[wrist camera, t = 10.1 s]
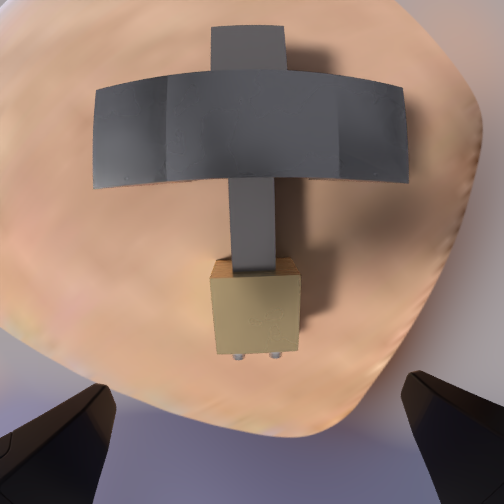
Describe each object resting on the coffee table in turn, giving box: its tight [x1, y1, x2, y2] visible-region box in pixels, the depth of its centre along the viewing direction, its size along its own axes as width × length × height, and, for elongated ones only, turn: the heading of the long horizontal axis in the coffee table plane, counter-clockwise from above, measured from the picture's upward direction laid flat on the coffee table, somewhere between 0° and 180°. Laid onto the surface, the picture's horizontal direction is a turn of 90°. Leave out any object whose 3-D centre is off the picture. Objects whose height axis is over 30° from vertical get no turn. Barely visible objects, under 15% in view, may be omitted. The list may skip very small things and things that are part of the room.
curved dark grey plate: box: [93, 69, 409, 189], centre depth 11 cm, size 4×12×5 cm, turn 91°
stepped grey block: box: [211, 25, 287, 272], centre depth 12 cm, size 11×3×4 cm, turn 2°
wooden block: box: [210, 257, 301, 360], centre depth 14 cm, size 5×4×3 cm
